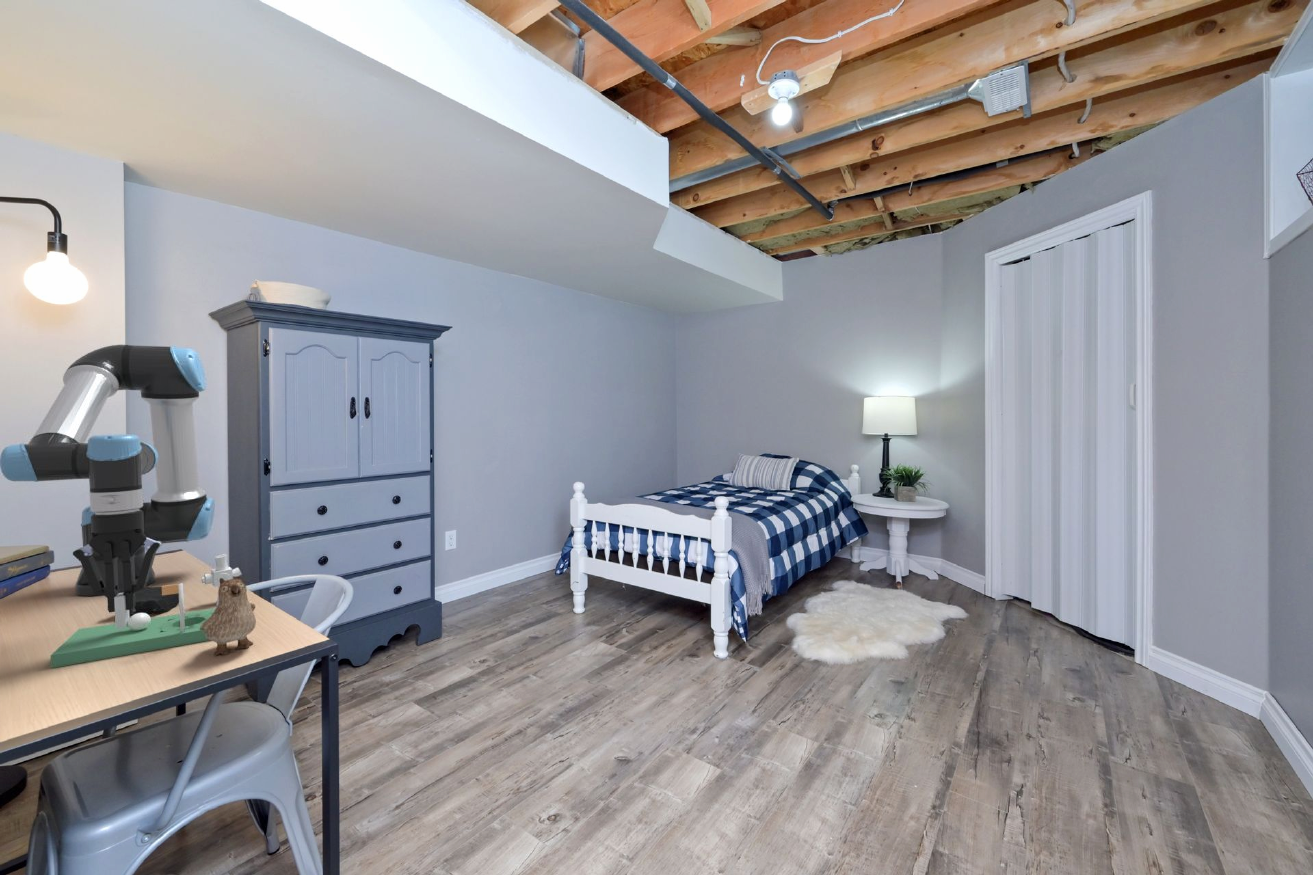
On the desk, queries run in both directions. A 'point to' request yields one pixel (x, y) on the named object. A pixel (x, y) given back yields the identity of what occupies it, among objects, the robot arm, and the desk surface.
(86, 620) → the desk surface
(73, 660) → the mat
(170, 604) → the rock
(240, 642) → the figurine
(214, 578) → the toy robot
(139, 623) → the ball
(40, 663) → the desk surface
